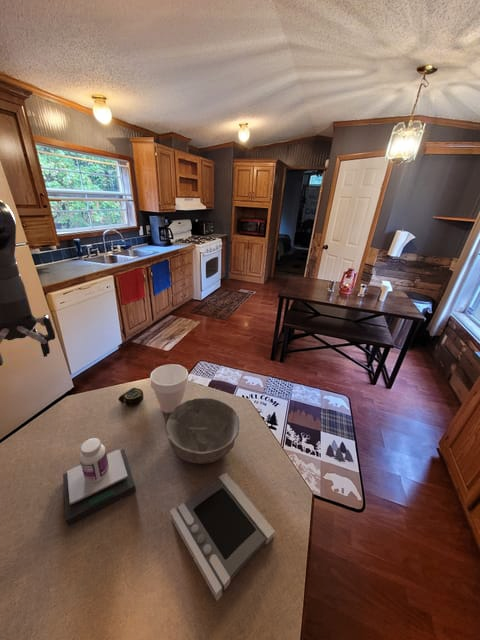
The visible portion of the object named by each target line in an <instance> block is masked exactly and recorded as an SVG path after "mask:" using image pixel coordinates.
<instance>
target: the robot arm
mask: <svg viewBox="0 0 480 640" xmlns="http://www.w3.org/2000/svg"><path fill="white" fill-rule="evenodd" d="M16 239H17V224H16V219H15V215H14V214H13V212H12V210H11V209H10V207H9V206H8V205H7V204H6V203H5V202H4V201H2V200H1V199H0V345H1V343H3V341H4V340H7V341H13V340H16V339H25V338H26V337H29V338H30V339H32V340H35V341H37V342H39V343H40V348H41V352H42V356H43V358H46V357H48V355H50V353H51V347H50V345H49V342H50V341H54V340H55V339H56V332H55V329H54V326H53V323H52V319H51V316H50V315H49V314H44V315H43V316H39V317H35V316H34V315H33V313H32V309H31V305H30V301H29V297H28V294H27V291H26V286H25V284H24V281H23V279H22V277H21V274H20V270H19V266H18V263H17V259H16V255H15V254H16V243H17V242H16ZM37 324H40V325H41V326H42V327H45V330H46V334H44V333H42V332H41V331H40V330H39V329H37V328H36V325H37ZM3 364H4V359H3V357H2V354H1V353H0V367H1V366H2V367H3Z"/></svg>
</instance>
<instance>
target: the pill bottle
mask: <svg viewBox="0 0 480 640" xmlns="http://www.w3.org/2000/svg"><path fill="white" fill-rule="evenodd" d="M107 454H108V453H107V450H106V447H105V446H104V445H103V444H102V443H101V440H100V439H99V438H97V437H92V438H88V439H86V440H85V441H84V442H83V443H82V444H81V445H80V453H79V462H80V465H81V466H82V470H83V474H84V477H85V480H86V481H87V482H91V483H92V482H98V481H100V480H101V479H103V478H104V477H105V476H106V475H107V473H108V471H109V464H108V459H107Z"/></svg>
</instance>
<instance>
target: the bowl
mask: <svg viewBox="0 0 480 640" xmlns="http://www.w3.org/2000/svg"><path fill="white" fill-rule="evenodd" d="M239 431H240V419H239V415H238V414H237V412H236V410H235V409H234V408H233V407H232V406H231V405H229V404H227V403H226V402H224V401H222V400H218V399H215V398H212V397H198V398H193V399H188V400H185V401H183V402H182V403H181V405H179V406H178V407H176V408H175V409H174V411H172V413H170V415H169V416H168V419H167V420H166V423H165V432H166V435H167V437H168V440H169V444H170V447H171V448H172V450H173V452H174V454H176V455H177V456H178V458H180V459H181V460H183V461H185V462H187V463H192V464H211V463H214V462H216V461H219V460H221V459H222V458H224V457H225V456H226V455H227V454H228V453H229V452H230V451H231V450H232V449H233V447H234V445H235V441H236V439H237V437H238V435H239Z"/></svg>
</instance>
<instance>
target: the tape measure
mask: <svg viewBox="0 0 480 640" xmlns="http://www.w3.org/2000/svg"><path fill="white" fill-rule="evenodd" d="M117 399H118V401H119V403H121V404H124V405H125V406H127V407H135V406H138V405H140V404H141V403H142V402H143V401H144V391H143V390H142V389H141V388H137V387H132V388H130V389H129V390H127V391H126V392H124V393H122V394H121V395H120V396H119V397H117Z"/></svg>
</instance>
